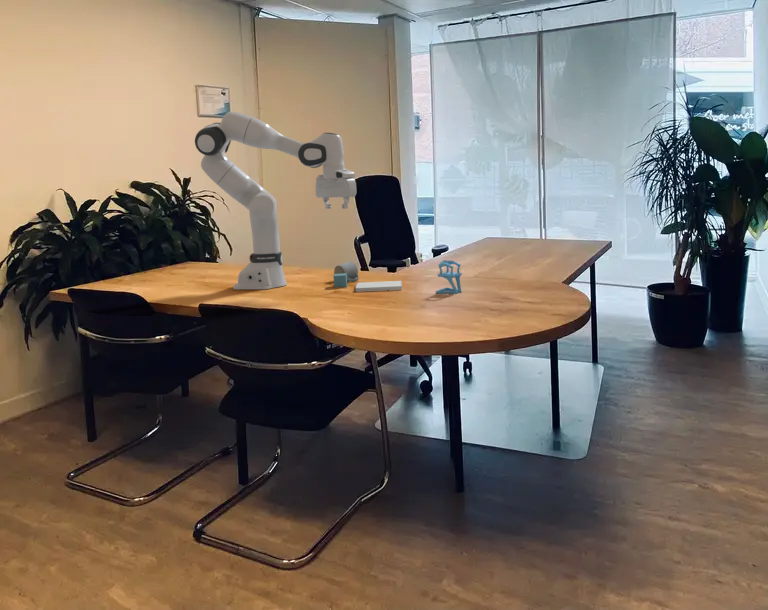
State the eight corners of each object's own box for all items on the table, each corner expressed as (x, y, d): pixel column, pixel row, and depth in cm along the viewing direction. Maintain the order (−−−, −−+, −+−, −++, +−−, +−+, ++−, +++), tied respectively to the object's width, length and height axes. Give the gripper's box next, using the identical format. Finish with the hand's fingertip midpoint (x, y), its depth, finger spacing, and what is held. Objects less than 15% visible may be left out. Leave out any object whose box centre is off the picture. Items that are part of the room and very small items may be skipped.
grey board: (355, 291, 253) (355, 288, 252) (357, 286, 264) (357, 282, 264) (401, 289, 252) (401, 286, 252) (401, 284, 264) (401, 280, 263)
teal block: (334, 287, 264) (333, 275, 263) (335, 285, 269) (334, 273, 268) (346, 287, 264) (345, 275, 263) (347, 285, 269) (346, 273, 268)
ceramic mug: (333, 280, 281) (332, 263, 279) (347, 278, 286) (346, 260, 284) (349, 283, 273) (348, 265, 271) (363, 280, 279) (362, 262, 277)
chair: (454, 295, 237) (453, 262, 235) (435, 293, 242) (434, 261, 240) (465, 291, 243) (464, 259, 241) (446, 289, 248) (445, 258, 246)
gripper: (310, 175, 265) (313, 209, 268) (346, 173, 252) (349, 209, 255) (321, 174, 270) (324, 208, 273) (357, 172, 257) (360, 207, 260)
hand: (336, 208), depth 264 cm, fingers open, 8 cm apart
